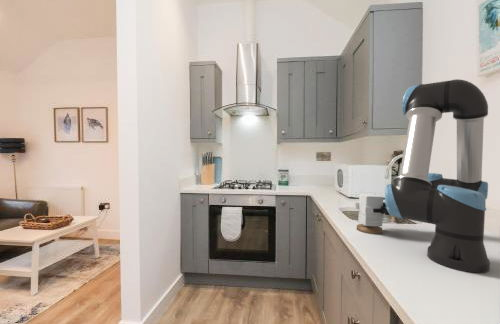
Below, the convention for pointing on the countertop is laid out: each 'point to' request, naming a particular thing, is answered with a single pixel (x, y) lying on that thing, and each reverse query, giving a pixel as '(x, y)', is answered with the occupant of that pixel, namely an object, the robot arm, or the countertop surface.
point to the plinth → (369, 229)
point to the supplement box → (370, 201)
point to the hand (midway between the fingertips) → (359, 207)
